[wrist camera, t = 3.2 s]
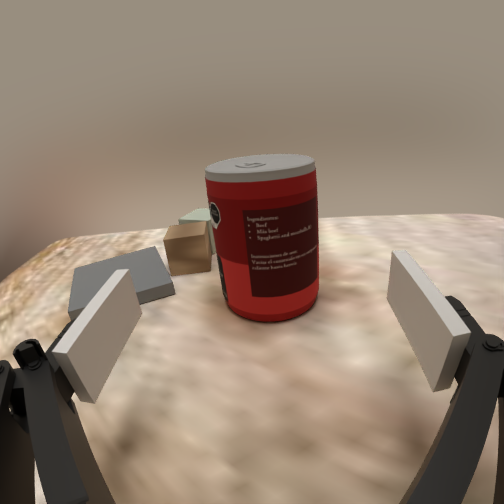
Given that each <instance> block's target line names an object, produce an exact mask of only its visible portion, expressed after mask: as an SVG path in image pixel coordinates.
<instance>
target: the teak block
mask: <svg viewBox="0 0 504 504" xmlns="http://www.w3.org/2000/svg"><path fill="white" fill-rule="evenodd" d="M163 241H164V246H165V250H166V255H167V259H168V264H169V268H170V272H171V276H176V275H184V274H192V273H201V272H209V271H211V258H212V254H211V247H210V241H209V235H208V229H207V223H206V221H203V222H195V223H188V224H181V225H174V226H170V227H169V228H168V231H167V233H166V235H165V237H164V239H163Z"/></svg>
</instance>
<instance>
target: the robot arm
mask: <svg viewBox="0 0 504 504" xmlns="http://www.w3.org/2000/svg"><path fill="white" fill-rule="evenodd" d="M387 300H388V302H389V304H390V306H391V308H392V310H393V312H394V313H395V315H396V317H397V319H398V321H399V323H400V325H401V327H402V329H403V331H404V333H405V335H406V337H407V339H408V341H409V343H410V345H411V347H412V349H413V351H414V353H415V355H416V357H417V359H418V361H419V363H420V365H421V367H422V369H423V371H424V374H425V376H426V378H427V380H428V382H429V384H430V387H431V389H432V391H433V392H436V391H440V390H444V389H448V388H450V386H451V384H452V382H453V379H454V377H455V379H456V381H457V383H458V386H457V389H456V391H455V393H454V395H453V397H452V399H451V401H450V403H451V404H450V406H449V409H448V411H447V413H446V416H445V418H444V420H443V423H442V425H441V427H440V429H439V432H438V434H437V436H436V438H435V440H434V442H433V444H432V446H431V448H430V450H429V452H428V454H427V456H426V458H425V460H424V462H423V464H422V466H421V468H420V469H419V471H418V473H417V475H416V477H415V478H414V480H413V482H412V484H411V485H410V487H409V489H408V490H407V492H406V494H405V495H404V497H403V499H402V500H401V502H400V503H399V504H461V503H462V501H463V498H464V496H465V494H466V492H467V489H468V487H469V484H470V482H471V480H472V477H473V475H474V472H475V469H476V467H477V464H478V461H479V459H480V456H481V453H482V450H483V447H484V444H485V441H486V438H487V434H488V431H489V428H490V424H491V421H492V417H493V413H494V409H495V405H496V401H497V398H498V404H499V444H498V463H497V475H496V485H495V493H494V501H493V504H504V341H503V340H502V339H500V338H499V337H497V336H495V335H492V334H485V332H484V331H483V330H482V328H481V327H480V326H479V325H478V323H477V322H476V321H475V319H474V318H473V317H472V316H471V314H470V313H469V312H468V310H466V308H465V307H464V305H463V304H462V303H461V302H460V301H459V300H457V299H456V298H454V297H453V296H445V297H444V295H443V294H442V293H441V292H440V290H439V289H438V288H437V287H436V285H435V284H434V283H433V282H432V280H431V279H430V278H429V277H428V276H427V274H426V273H425V272H424V271H423V269H422V268H421V267H420V266H419V265H418V264H417V262H416V261H415V260H414V259H413V258H412V256H411V255H410V254H409V253H408V252H407V251H406V250H398V251H392V256H391V266H390V276H389V285H388V293H387ZM141 315H142V311H141V308H140V305H139V301H138V298H137V295H136V292H135V288H134V285H133V281H132V278H131V274H130V271H129V269H121V270H116V271H115V272H114V273H113V274H112V276H111V277H110V278H109V279H108V280H107V282H106V283H105V284H104V285H103V286H102V288H101V289H100V290H99V291H98V292H97V294H96V295H95V296H94V297H93V299H92V300H91V301H90V302H89V304H88V305H87V306H86V307H85V309H84V310H83V311H82V312H81V314H80V315H79V316H78V317H77V318H75V319H73V320H72V321H71V322H69V323H68V324H67V325H66V326H65V328H64V329H63V330H62V333H60V334H59V335H58V338H56V339H55V341H54V342H53V343H52V345H51V346H50V347H49V349H48V350H47V351H46V353H44V351H43V349H42V347H41V345H40V343H39V341H38V340H36V339H28V340H25V341H23V342H21V343H20V344H19V345H17V346H16V348H15V349H14V351H13V355H14V357H15V359H16V361H17V362H18V364H19V366H20V367H21V368H17V369H13V368H12V367H11V365H10V363H9V362H8V361H6V360H1V361H0V504H35V479H34V471H35V461H36V465H37V470H38V474H39V477H40V481H41V485H42V489H43V492H44V495H45V499H46V502H47V504H116V503H115V501H114V499H113V498H112V495H111V493H110V491H109V489H108V487H107V485H106V483H105V481H104V479H103V477H102V474H101V472H100V470H99V467H98V465H97V463H96V460H95V458H94V456H93V453H92V451H91V448H90V446H89V443H88V441H87V438H86V435H85V433H84V430H83V427H82V424H81V421H80V419H79V416H78V413H77V410H76V407H75V403H74V402H73V400H72V399H71V397H72V395H73V393H74V392H75V393H76V395H77V396H78V398H79V400H80V401H83V402H88V403H94V404H95V402H96V400H97V398H98V396H99V394H100V392H101V390H102V388H103V386H104V384H105V382H106V380H107V378H108V377H109V375H110V373H111V371H112V369H113V367H114V365H115V363H116V361H117V359H118V357H119V355H120V354H121V352H122V350H123V348H124V346H125V344H126V342H127V340H128V339H129V337H130V335H131V333H132V331H133V329H134V328H135V326H136V324H137V322H138V320H139V319H140V317H141ZM9 408H10V409H11V411H10V410H9Z"/></svg>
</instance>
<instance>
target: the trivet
mask: <svg viewBox="0 0 504 504" xmlns="http://www.w3.org/2000/svg"><path fill="white" fill-rule="evenodd" d="M121 269H129V271H130V274H131V278H132V281H133V285H134V288H135V292H136V295H137V298H138V301H139V304H142V303H145V302H149V301H152V300H156V299H159V298H163V297H166V296H170V295H173V294H175V290H174V285H173V282H172V280H171V278H170V276H169V274H168V272H167V270H166V268H165V266H164V264H163V261H162V259H161V257H160V255H159V253H158V251H157V249H156V247H155V246H154V247H150V248H146V249H142V250H139V251H135V252H131V253H128V254H124V255H121V256H117V257H113V258H110V259H106V260H103V261H99V262H95V263H92V264H88V265H85V266H81V267H78V268H75V270H74V275H73V281H72V287H71V294H70V300H69V307H68V313H69V316H70V318H71V321H72V320H73V319H75V318H77V317H78V316H79V315H80V314H81V312H82V311H83V310H84V309H85V307H86V306H87V305H88V304H89V302H90V301H91V300H92V299H93V297H94V296H95V295H96V294H97V292H98V291H99V290H100V289H101V288H102V286H103V285H104V284H105V283H106V282H107V280H108V279H109V278H110V277H111V276H112V274H113V273H114V272H115V271H116V270H121Z"/></svg>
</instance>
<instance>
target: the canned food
mask: <svg viewBox="0 0 504 504" xmlns="http://www.w3.org/2000/svg"><path fill="white" fill-rule="evenodd" d="M205 172H206V174H205V180H206V187H207V196H208V203H209V210H210V216H211V223H212V229H213V235H214V242H215V248H216V254H217V260H218V266H219V272H220V278H221V284H222V290H223V295H224V297H225V300H226V301H227V303H228V305H229V307H230V308H231V309H232V310H233V311H234V312H235V313H237V314H238V315H240V316H242V317H245V318H248V319H251V320H255V321H263V322H274V321H283V320H287V319H291V318H293V317H296V316H299V315H301V314H302V313H304V312H306V311H307V310H308V309H309V308H310V307H311V306H312V305H313V303H314V302H315V299H316V296H317V293H318V290H319V237H318V201H317V181H316V168H315V162H314V159H313V158H311V157H308V156H304V155H296V154H266V155H254V156H245V157H238V158H232V159H227V160H223V161H220V162H216V163H213V164H211V165H209V166H208V167H206V168H205Z"/></svg>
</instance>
